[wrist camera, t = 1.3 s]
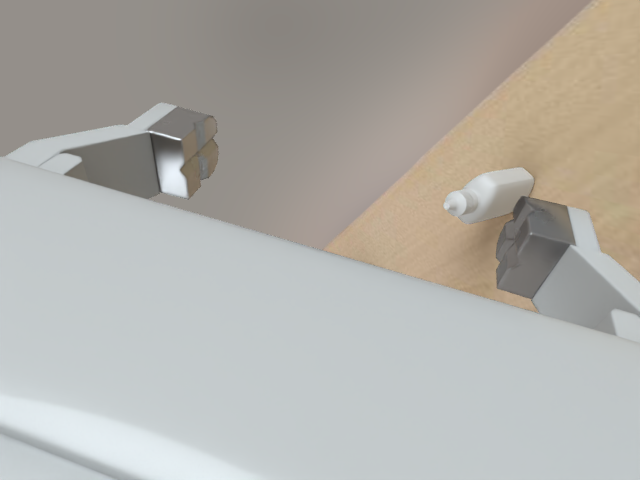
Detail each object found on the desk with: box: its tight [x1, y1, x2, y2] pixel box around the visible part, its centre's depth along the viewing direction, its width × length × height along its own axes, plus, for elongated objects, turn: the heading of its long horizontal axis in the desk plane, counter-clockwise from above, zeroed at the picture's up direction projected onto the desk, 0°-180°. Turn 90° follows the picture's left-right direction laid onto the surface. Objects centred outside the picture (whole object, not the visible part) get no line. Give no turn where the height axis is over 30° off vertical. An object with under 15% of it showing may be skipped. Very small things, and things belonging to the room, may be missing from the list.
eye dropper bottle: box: [443, 167, 534, 224], centre depth 44 cm, size 4×6×12 cm
